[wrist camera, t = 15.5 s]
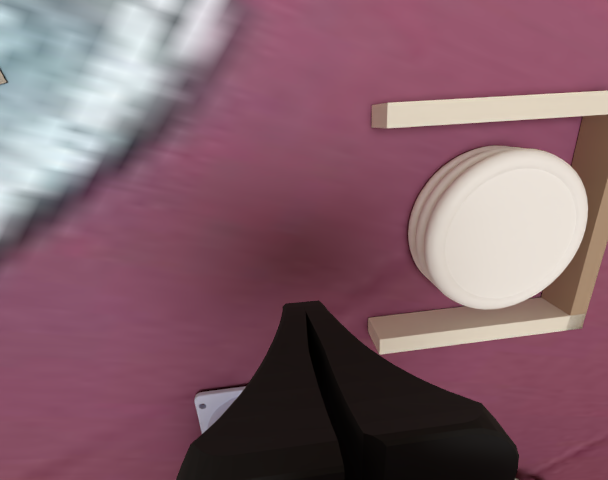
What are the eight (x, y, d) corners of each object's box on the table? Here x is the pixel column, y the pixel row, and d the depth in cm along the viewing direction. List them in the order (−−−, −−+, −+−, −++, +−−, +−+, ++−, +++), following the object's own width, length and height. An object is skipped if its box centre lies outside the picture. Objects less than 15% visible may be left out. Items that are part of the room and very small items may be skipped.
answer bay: (552, 309, 25) (581, 328, 23) (367, 331, 24) (379, 354, 21) (605, 91, 20) (652, 88, 17) (371, 105, 18) (387, 102, 16)
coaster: (475, 308, 25) (507, 337, 21) (375, 244, 22) (395, 265, 18) (573, 199, 22) (626, 212, 19) (476, 111, 19) (519, 109, 16)
